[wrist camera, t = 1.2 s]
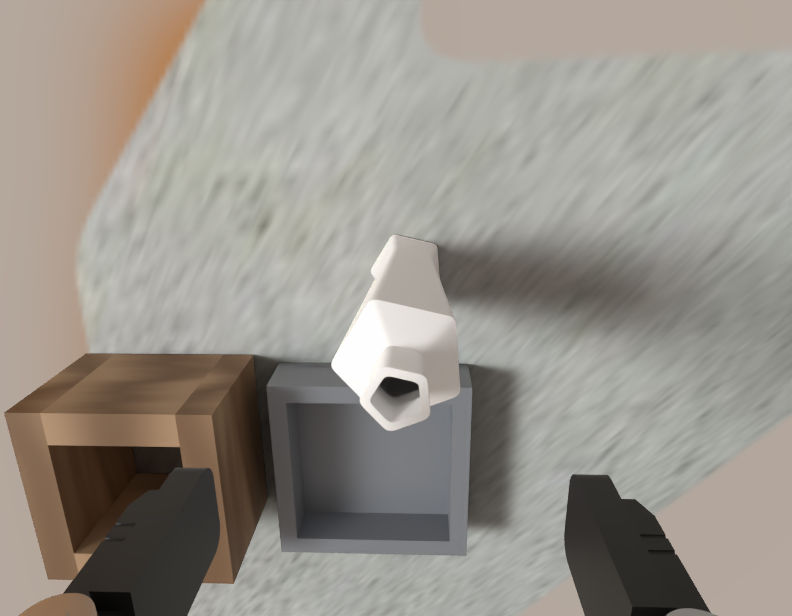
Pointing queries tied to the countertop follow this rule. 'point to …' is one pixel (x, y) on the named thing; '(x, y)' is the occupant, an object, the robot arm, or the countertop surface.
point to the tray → (366, 469)
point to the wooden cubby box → (137, 426)
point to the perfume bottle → (402, 338)
